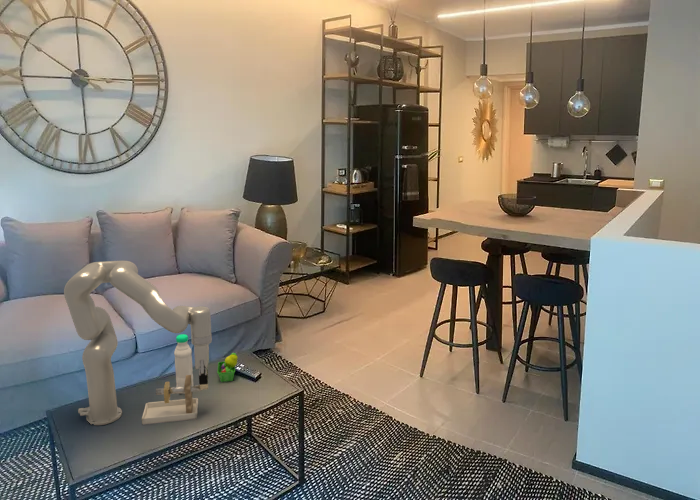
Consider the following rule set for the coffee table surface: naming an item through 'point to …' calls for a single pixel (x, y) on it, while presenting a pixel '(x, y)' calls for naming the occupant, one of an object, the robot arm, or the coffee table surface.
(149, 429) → the coffee table surface
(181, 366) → the water bottle
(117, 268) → the robot arm
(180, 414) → the tray
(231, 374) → the fruit basket
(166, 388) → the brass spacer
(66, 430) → the coffee table surface
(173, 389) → the steel shaft
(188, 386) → the shaft post
